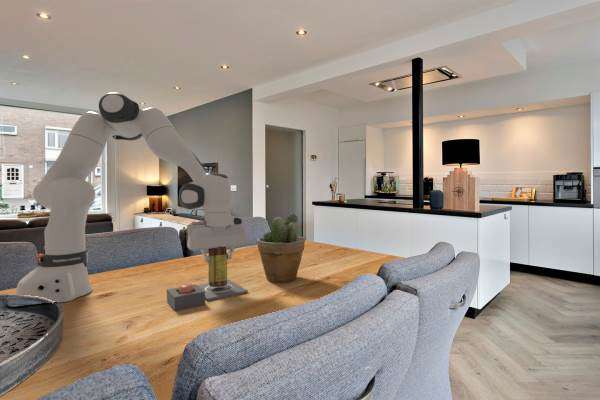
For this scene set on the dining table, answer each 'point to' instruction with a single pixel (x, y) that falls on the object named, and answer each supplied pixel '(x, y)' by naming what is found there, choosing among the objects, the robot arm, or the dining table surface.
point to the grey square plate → (222, 290)
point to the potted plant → (281, 250)
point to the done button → (185, 288)
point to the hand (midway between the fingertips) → (218, 260)
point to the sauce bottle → (217, 267)
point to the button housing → (185, 298)
